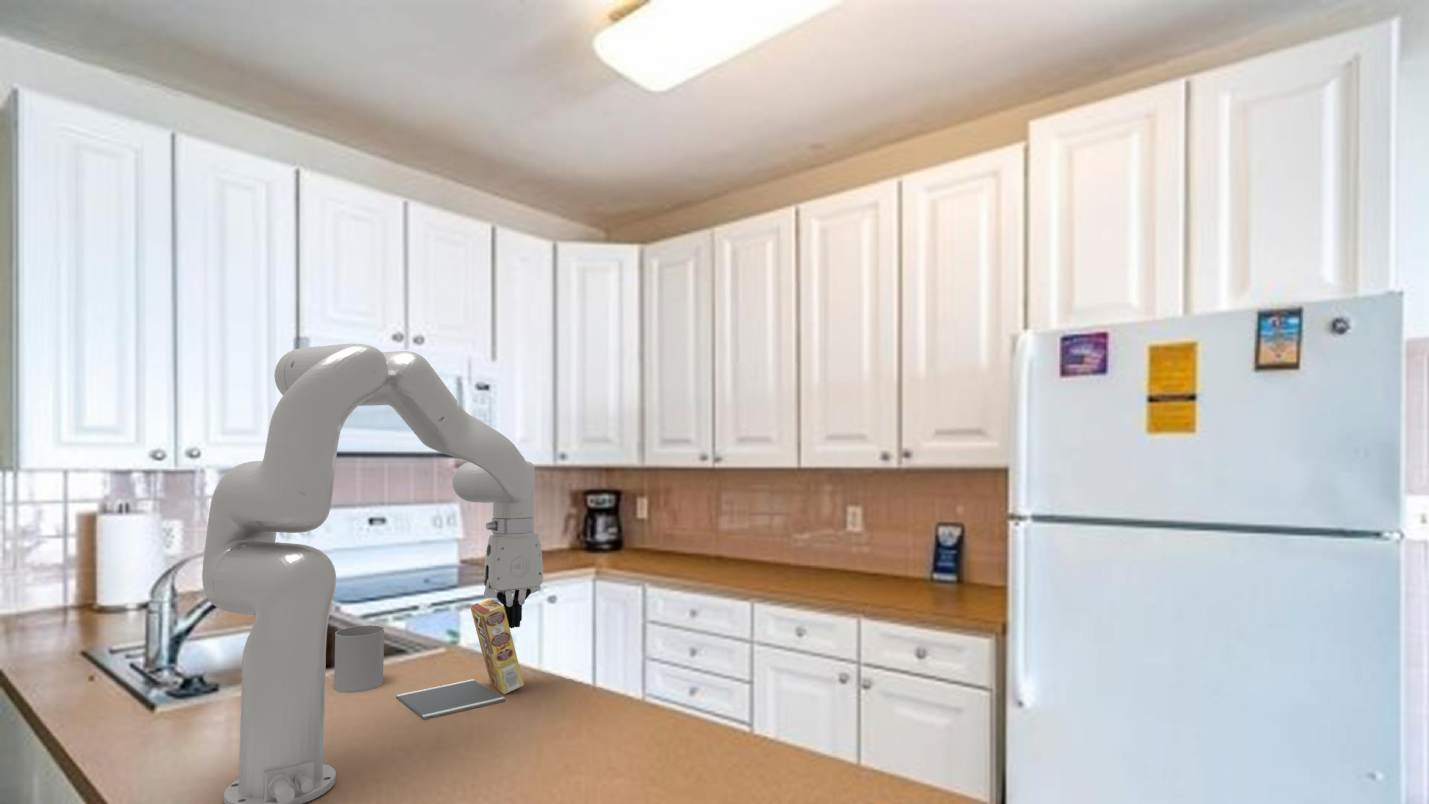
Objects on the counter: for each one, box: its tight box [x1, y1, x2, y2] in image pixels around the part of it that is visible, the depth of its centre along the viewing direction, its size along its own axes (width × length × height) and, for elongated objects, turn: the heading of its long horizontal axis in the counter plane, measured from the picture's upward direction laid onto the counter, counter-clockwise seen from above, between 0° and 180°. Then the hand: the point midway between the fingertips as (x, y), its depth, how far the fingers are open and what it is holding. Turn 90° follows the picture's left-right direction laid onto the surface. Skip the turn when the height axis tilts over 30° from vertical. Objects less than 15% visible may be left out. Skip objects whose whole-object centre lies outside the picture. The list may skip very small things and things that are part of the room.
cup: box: [333, 624, 385, 694], centre depth 142 cm, size 8×8×10 cm
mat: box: [395, 678, 506, 720], centre depth 134 cm, size 14×14×1 cm
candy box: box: [469, 598, 525, 695], centre depth 140 cm, size 9×4×15 cm, turn 34°
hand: (512, 626), depth 142 cm, fingers closed
